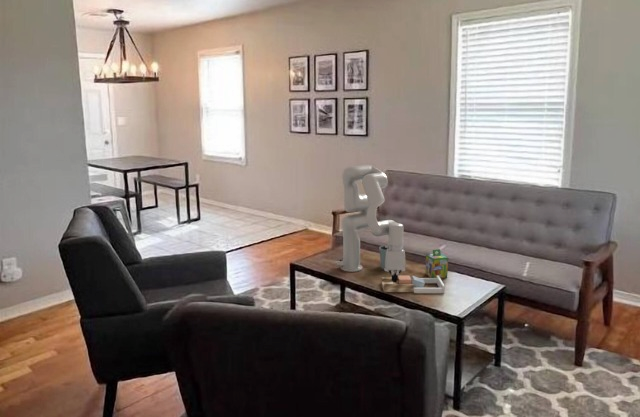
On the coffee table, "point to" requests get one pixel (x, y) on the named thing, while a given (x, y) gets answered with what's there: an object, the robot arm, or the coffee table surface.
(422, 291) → the white u-shaped bracket
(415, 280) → the tile
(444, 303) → the coffee table surface
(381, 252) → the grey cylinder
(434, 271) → the chalk box
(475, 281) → the coffee table surface
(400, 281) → the tile
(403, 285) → the wooden tray
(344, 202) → the robot arm
